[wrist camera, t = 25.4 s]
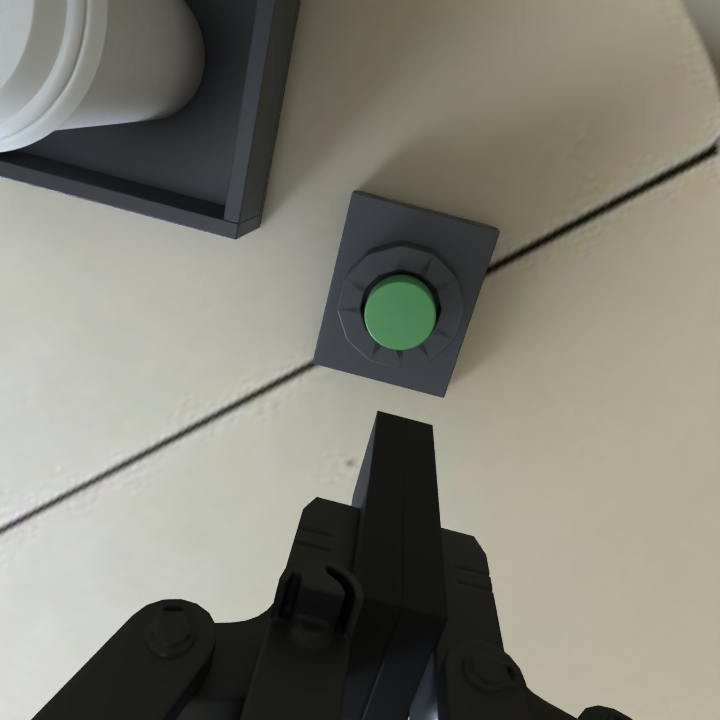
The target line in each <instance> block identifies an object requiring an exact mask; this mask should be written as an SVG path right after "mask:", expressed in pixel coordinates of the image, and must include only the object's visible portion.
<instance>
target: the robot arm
mask: <svg viewBox="0 0 720 720" xmlns="http://www.w3.org/2000/svg"><path fill="white" fill-rule="evenodd" d="M489 574H490V573H489V568H488V562H487V557H486V554H485V552H484V551H483V549H482V548H481V546H480V545H479V543H478V542H477V540H476V539H475V537H474V536H471V535H467V534H463V533H459V532H455V531H451V530H448V529H444V528H441V524H440V512H439V500H438V487H437V475H436V463H435V450H434V438H433V426H432V425H430V424H426V423H422V422H418V421H415V420H411V419H407V418H403V417H399V416H396V415H392V414H388V413H384V412H380V411H377V415H376V418H375V422H374V425H373V429H372V432H371V435H370V439H369V442H368V446H367V449H366V453H365V456H364V460H363V463H362V466H361V470H360V473H359V477H358V480H357V484H356V487H355V490H354V494H353V499H352V505H351V506H349V505H345V504H342V503H338V502H334V501H330V500H326V499H322V498H319V497H316V498H315V499H314V500H313V501H312V502H311V503H309V504H308V505H307V506H306V507H305V508H304V509H303V512H302V515H301V518H300V522H299V525H298V529H297V532H296V535H295V539H294V542H293V545H292V549H291V552H290V555H289V559H288V562H287V566H286V569H285V570H284V572H283V573H282V575H281V577H280V579H279V583H278V587H277V591H276V595H275V599H274V603H273V604H272V605H271V607H270V608H269V609H268V610H267V611H265V612H264V613H262V614H261V615H259V616H258V617H255V618H252V619H249V620H246V621H240V622H231V623H214V621H213V619H212V617H211V616H210V614H209V613H208V612H207V611H206V610H204V609H203V608H202V607H200V606H199V605H198V604H196V603H192V602H189V601H186V600H182V599H166V600H161V601H158V602H155V603H152V604H149V605H146V606H145V607H143V608H142V609H141V610H139V611H138V612H137V613H135V614H134V615H133V616H132V617H131V618H130V619H129V620H128V621H127V622H126V623H125V624H124V625H123V626H122V627H121V628H120V629H119V630H118V631H117V632H116V633H115V634H114V635H113V636H112V637H111V638H110V639H109V640H108V641H107V642H106V643H105V644H104V645H103V646H102V647H101V648H100V649H99V650H98V652H97V653H96V654H95V655H94V656H93V657H92V658H91V659H90V660H89V661H88V662H87V663H86V664H85V665H84V666H83V667H82V668H81V669H80V670H79V671H78V672H77V673H76V674H75V675H74V676H73V677H72V678H71V679H70V680H69V681H68V682H67V683H66V684H65V685H64V686H63V687H62V688H61V690H60V691H59V692H58V693H57V694H56V695H55V696H54V697H53V698H52V699H51V700H50V701H49V702H48V703H47V704H46V705H45V706H44V707H43V708H42V709H41V710H40V711H39V712H38V713H37V714H36V715H35V716H34V717H33V718H32V719H31V720H408V717H409V720H632V719H631V718H630V717H628V716H626V715H624V714H622V713H620V712H619V711H617V710H615V709H612V708H608V707H603V706H599V705H598V706H593V707H589V708H586V709H585V710H584V711H583V712H582V713H581V714H580V716H579V717H578V719H577V718H575V717H573V716H571V715H570V714H568V713H566V712H564V711H562V710H561V709H559V708H557V707H555V706H553V705H552V704H550V703H548V702H546V701H545V700H543V699H542V698H540V697H539V696H537V695H536V694H534V693H533V692H532V691H531V690H529V689H528V688H527V686H526V682H525V680H524V677H523V675H522V673H521V670H520V668H519V667H518V666H517V665H516V663H515V662H514V661H513V660H512V658H511V657H510V656H509V655H508V654H507V653H505V652H504V648H503V642H502V637H501V632H500V626H499V621H498V616H497V610H496V605H495V600H494V594H493V593H492V584H491V578H490V577H489Z"/></svg>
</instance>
